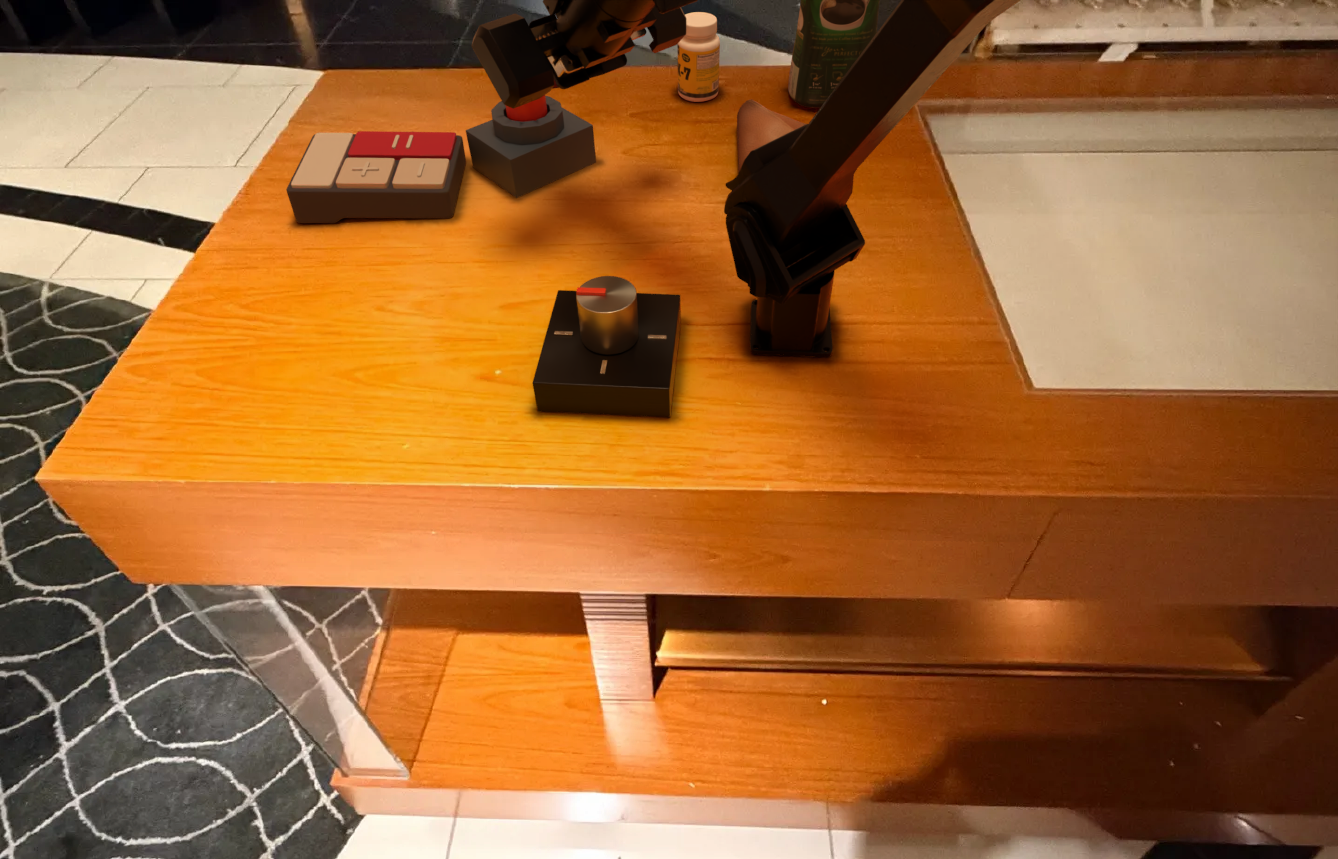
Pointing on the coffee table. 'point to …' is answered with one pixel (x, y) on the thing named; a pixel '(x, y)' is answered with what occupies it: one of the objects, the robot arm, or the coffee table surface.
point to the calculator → (378, 176)
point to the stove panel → (610, 363)
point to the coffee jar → (828, 46)
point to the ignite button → (528, 111)
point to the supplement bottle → (699, 58)
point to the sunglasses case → (759, 127)
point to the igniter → (531, 148)
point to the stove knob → (608, 314)
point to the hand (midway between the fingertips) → (552, 82)
